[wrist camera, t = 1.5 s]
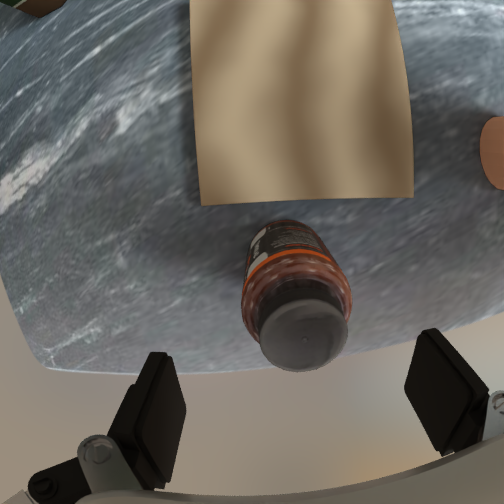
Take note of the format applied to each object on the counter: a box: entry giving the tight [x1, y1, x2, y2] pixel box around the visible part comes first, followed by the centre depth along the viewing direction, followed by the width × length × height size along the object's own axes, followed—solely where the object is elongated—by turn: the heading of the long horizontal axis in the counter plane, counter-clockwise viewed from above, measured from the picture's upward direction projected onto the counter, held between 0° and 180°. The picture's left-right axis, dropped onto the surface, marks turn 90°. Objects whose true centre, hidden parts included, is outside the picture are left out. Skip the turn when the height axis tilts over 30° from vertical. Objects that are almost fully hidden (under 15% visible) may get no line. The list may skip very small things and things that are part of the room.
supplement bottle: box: [241, 220, 352, 372], centre depth 18 cm, size 6×6×11 cm
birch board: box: [190, 0, 414, 206], centre depth 19 cm, size 16×17×1 cm
